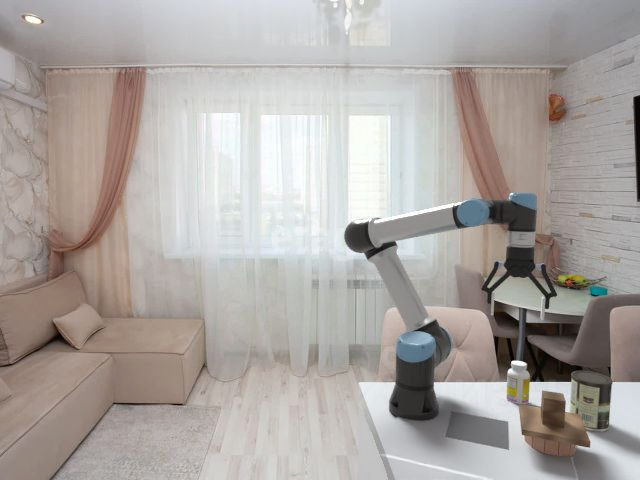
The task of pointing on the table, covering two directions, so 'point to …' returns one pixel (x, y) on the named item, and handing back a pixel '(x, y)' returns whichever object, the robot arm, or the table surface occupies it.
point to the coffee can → (591, 399)
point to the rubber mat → (478, 430)
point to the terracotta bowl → (550, 446)
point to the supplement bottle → (518, 383)
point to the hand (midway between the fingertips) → (516, 317)
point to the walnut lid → (553, 421)
